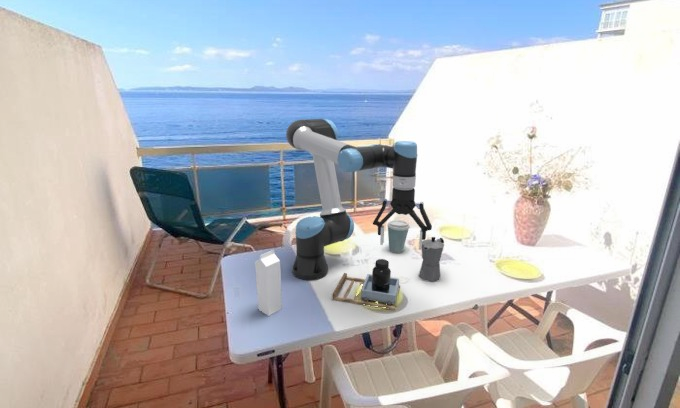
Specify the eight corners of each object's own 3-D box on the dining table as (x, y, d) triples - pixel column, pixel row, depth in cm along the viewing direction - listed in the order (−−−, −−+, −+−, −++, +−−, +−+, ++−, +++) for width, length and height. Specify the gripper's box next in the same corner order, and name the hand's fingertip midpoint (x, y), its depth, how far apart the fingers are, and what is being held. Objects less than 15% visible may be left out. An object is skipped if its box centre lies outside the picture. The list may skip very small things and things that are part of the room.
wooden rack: (332, 299, 128) (332, 294, 127) (344, 278, 143) (344, 273, 143) (394, 310, 122) (395, 304, 121) (400, 286, 137) (400, 281, 137)
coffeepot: (431, 286, 138) (435, 245, 133) (411, 278, 144) (414, 238, 139) (449, 273, 149) (454, 234, 143) (430, 266, 155) (434, 228, 150)
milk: (282, 308, 122) (280, 252, 116) (268, 316, 118) (266, 258, 111) (270, 302, 126) (268, 246, 119) (257, 309, 121) (254, 252, 115)
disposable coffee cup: (382, 247, 173) (383, 219, 169) (401, 245, 177) (403, 217, 172) (391, 256, 164) (393, 226, 159) (411, 253, 167) (414, 224, 163)
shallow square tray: (360, 301, 126) (360, 291, 125) (367, 282, 139) (368, 273, 138) (394, 307, 123) (395, 296, 122) (398, 287, 136) (399, 277, 135)
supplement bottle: (388, 296, 127) (390, 267, 123) (370, 294, 128) (371, 265, 125) (390, 286, 133) (391, 258, 130) (372, 284, 135) (373, 256, 131)
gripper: (365, 187, 117) (364, 245, 123) (441, 192, 110) (436, 254, 116) (370, 183, 124) (368, 238, 130) (442, 187, 117) (437, 245, 123)
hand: (400, 245), depth 123 cm, fingers open, 13 cm apart
